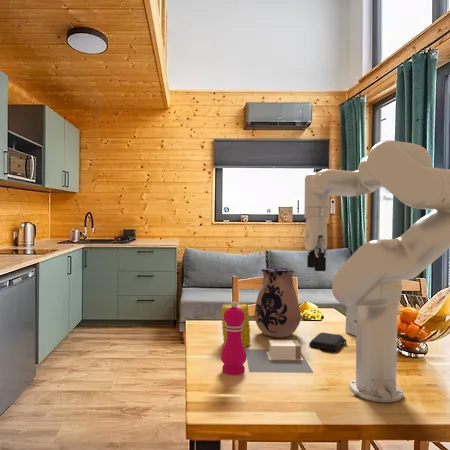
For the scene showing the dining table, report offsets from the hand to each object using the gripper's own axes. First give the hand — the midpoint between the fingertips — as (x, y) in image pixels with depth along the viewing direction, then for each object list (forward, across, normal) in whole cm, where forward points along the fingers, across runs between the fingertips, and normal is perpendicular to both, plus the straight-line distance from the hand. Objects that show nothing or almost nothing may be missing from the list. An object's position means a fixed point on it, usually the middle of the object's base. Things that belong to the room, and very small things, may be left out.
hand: (316, 269), depth 119 cm
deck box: (+28, -3, -9) cm, 29 cm away
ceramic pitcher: (+28, -30, -7) cm, 42 cm away
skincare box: (+28, -31, +23) cm, 48 cm away
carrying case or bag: (+29, -16, +9) cm, 34 cm away
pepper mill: (+28, +10, -25) cm, 40 cm away
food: (+28, -15, -24) cm, 40 cm away
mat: (+28, +1, -12) cm, 31 cm away
